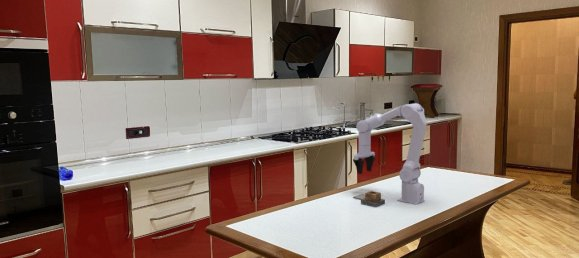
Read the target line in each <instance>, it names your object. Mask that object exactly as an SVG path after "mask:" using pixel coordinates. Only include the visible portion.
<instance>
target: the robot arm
mask: <svg viewBox="0 0 579 258" xmlns="http://www.w3.org/2000/svg"><path fill="white" fill-rule="evenodd" d="M396 117H402V118H404V119H405V120H407V121H408V122H409V123H410V124H411V125H412V126H413V128H412V133H411V137H410V142H409V147H408V150H407V151H408V153H407V155H406V160H405V162H404V163H403V166H402V169H401V170H400V171H399V178H400V180H401V194H400V195H401V197H400V198H398V199H397V201H398V202H403V203H408V204H412V205H418V204H420V203H423V202H425V186H424V184H423V183H420V182H419V178H420V176H421V174H422V173H421V163H420V158H421V154H422V153H421V152H422V148H423V144H424V140H425V135H426V130H427V125H428V124H427V119H426V115H425V109H424V107H422V105H421V104H419V103H416V102H415V103H410V104H409V103H405V104H403V105H400V106H397V107H394V108H393V109H391V110H389V111H387V112H385V113H383V114H381V113H373V114H372V115H371V116H370V117H366V118H365V119H364V120H363V119H362V120H359V121H358V122H357V123H356V124H355V125H356V126H355V127H356V130H357V131H358V152H357V153H356V154H355V155H353V159H352V160H353V163H354V165H355V168H356V172H357V174H358V175H362V174H363V168H364V163H365V166H366V168H365V169H366V172H372V168H373V165H374V163H375V161H376V158H377V157H376V156H375V155H376V154H375V153H376V152H374V151H372V150H371V149H372V147H371V144H372V142H371V138H372V137H371V133H372V130H374V129H377V128H379V127H381V126H383V125H384V124H385V122H386V121H388V120H391V119H394V118H396ZM363 159H364V160H363Z"/></svg>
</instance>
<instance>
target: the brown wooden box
mask: <svg viewBox="0 0 579 258" xmlns="http://www.w3.org/2000/svg"><path fill="white" fill-rule="evenodd" d="M371 193H374V194H371ZM364 195H365V200H369V201H374V202H375V201H378V200H381V199H382V192H381V191H380V192H379V191H375V190H370V191H367V192H364Z"/></svg>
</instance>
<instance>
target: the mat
mask: <svg viewBox="0 0 579 258" xmlns="http://www.w3.org/2000/svg"><path fill="white" fill-rule="evenodd" d="M363 198H365V193H360V194H357V195H354V196H352V199H355V200H360V201H361V199H363Z"/></svg>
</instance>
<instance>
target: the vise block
mask: <svg viewBox="0 0 579 258" xmlns="http://www.w3.org/2000/svg"><path fill="white" fill-rule="evenodd" d="M371 194H374V193H371ZM360 204H361V205H364V206H369V207H374V208H378V207H380V206H383V205H385V204H386V199H384V198H381V200H378V201H375V202H374V201H369V200H365V198H363V199H361V200H360Z"/></svg>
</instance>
